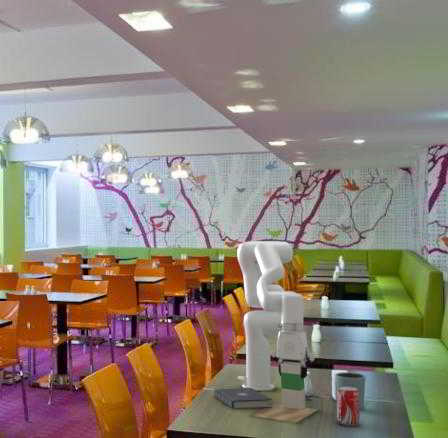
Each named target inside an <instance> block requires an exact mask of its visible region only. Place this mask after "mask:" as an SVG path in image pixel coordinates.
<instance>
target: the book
mask: <svg viewBox="0 0 448 438" xmlns="http://www.w3.org/2000/svg"><path fill="white" fill-rule="evenodd" d="M213 394H214V397H215V398H216V399H218V400H219V401H220V402H222V403H224V404H225V405H226V406H227V407H229V408H231V409H233V410H236V409H237V410H239V409H241V410H242V409H243V410H244V409H265V408H272V407H271V405H270V404H269V401H272V400H273V399H272V398H270V397H269V396H267V395H265V394H263V393H261V391H256V390H254V389H252V388H243V387H234V388H233V387H231V388H230V387H229V388H214V392H213Z"/></svg>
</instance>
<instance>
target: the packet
mask: <svg viewBox="0 0 448 438" xmlns="http://www.w3.org/2000/svg"><path fill="white" fill-rule="evenodd" d="M301 367H302V364H301V362H294V361H286V360H285V361H284V362H283V363H282V364H281V376H280V384H281V385H280V386H281V399H282V400H281V402H282V403H281V405H282V406H283V407H285V408H291V409H298V410H302V409H303V408H306V391H305V388H306V383H305V378H304V379H302V378H301Z"/></svg>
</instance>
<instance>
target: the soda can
mask: <svg viewBox="0 0 448 438" xmlns="http://www.w3.org/2000/svg"><path fill="white" fill-rule="evenodd" d="M336 419H337V423H339V424H340V425H342V426H345V427H354V426H357V425H358V424H360V409H359V393H358V391H357V388H354V387H347V386H343V387H339V390H338V392H337V400H336Z"/></svg>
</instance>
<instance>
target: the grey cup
mask: <svg viewBox="0 0 448 438" xmlns="http://www.w3.org/2000/svg"><path fill="white" fill-rule="evenodd" d="M366 378H367V376H366V375H365V374H363V373H359V372H352V371H351V372H350V371H348V372H343V373H337V374H336V380H337V392H338V390H339V387H343V386H347V387H354V388H357V391H358V393H359V411H363V410H364V407H365V392H366Z"/></svg>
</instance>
